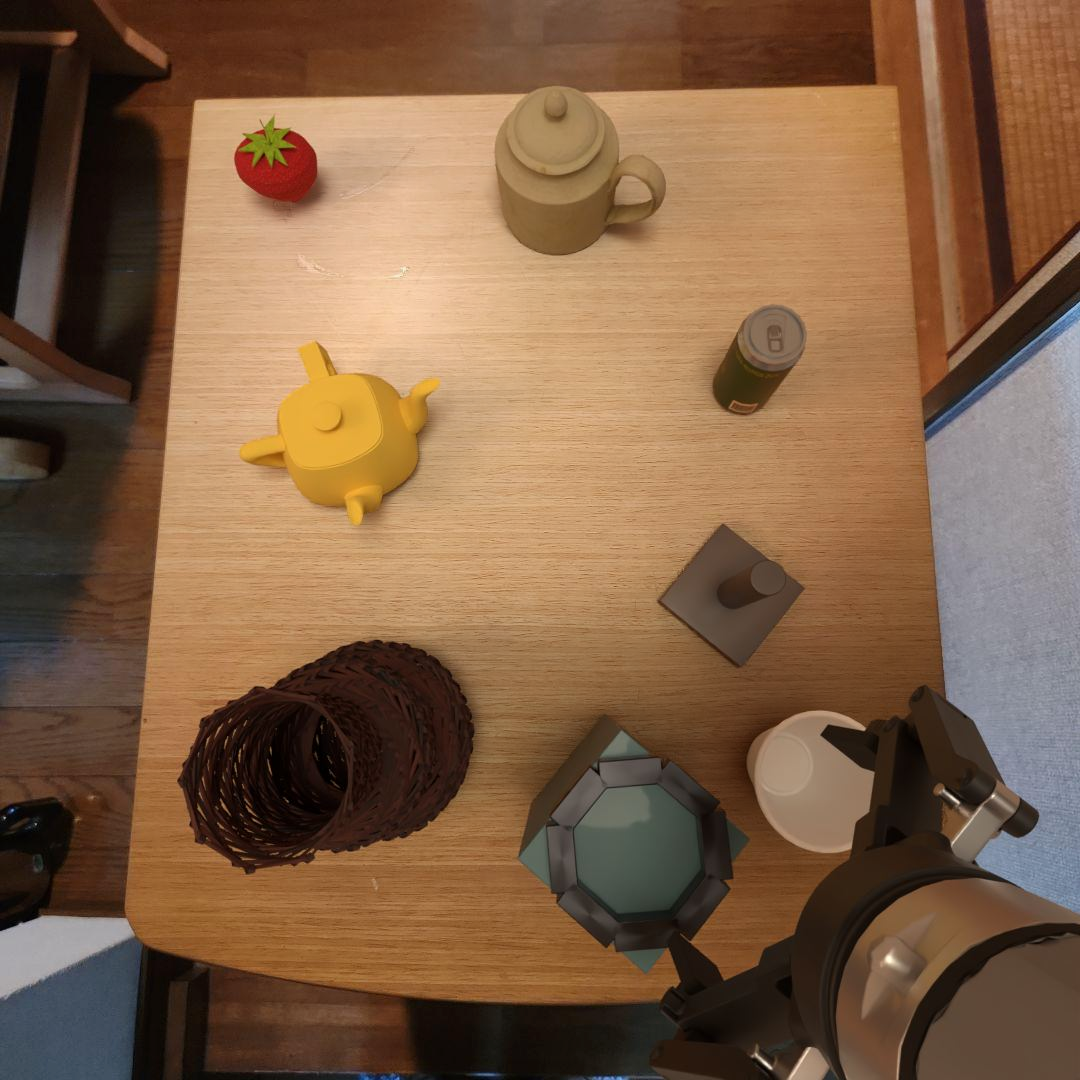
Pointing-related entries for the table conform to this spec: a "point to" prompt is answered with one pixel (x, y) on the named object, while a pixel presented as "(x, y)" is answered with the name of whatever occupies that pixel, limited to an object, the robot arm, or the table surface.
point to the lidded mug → (566, 172)
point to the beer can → (759, 358)
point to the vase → (330, 757)
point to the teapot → (344, 435)
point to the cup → (809, 782)
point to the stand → (622, 836)
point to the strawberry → (277, 163)
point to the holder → (731, 595)
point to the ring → (650, 925)
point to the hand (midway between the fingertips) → (769, 847)
